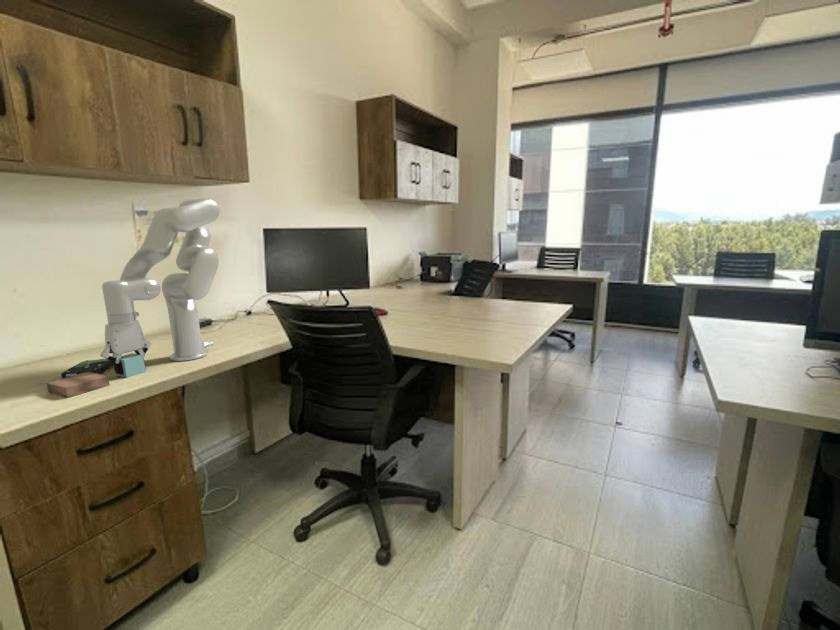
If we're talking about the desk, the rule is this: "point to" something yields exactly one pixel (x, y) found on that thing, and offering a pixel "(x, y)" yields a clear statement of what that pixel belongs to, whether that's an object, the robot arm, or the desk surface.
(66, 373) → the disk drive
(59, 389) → the walnut base
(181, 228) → the robot arm
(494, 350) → the desk surface
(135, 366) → the teal cube
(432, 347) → the desk surface
